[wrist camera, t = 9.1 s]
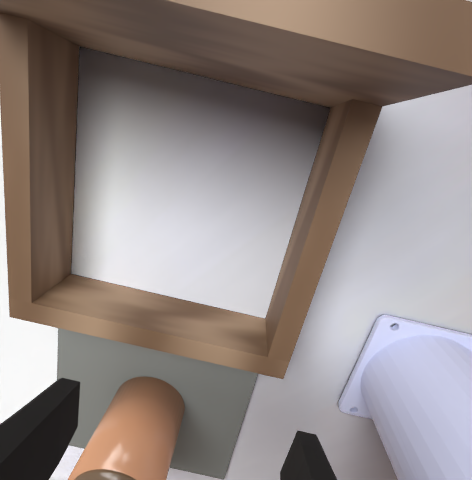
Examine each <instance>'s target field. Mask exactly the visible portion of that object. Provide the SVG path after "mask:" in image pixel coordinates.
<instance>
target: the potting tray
mask: <svg viewBox="0 0 472 480" xmlns="http://www.w3.org/2000/svg"><path fill="white" fill-rule="evenodd" d="M79 46H80V47H84V48H89V49H93V50H97V51H101V52H105V53H109V54H113V55H117V56H121V57H125V58H129V59H133V60H138V61H142V62H146V63H150V64H154V65H158V66H162V67H166V68H170V69H174V70H178V71H183V72H187V73H191V74H195V75H199V76H203V77H207V78H211V79H215V80H219V81H223V82H227V83H232V84H236V85H240V86H244V87H248V88H252V89H256V90H260V91H264V92H268V93H272V94H276V95H281V96H285V97H289V98H293V99H297V100H301V101H305V102H309V103H313V104H317V105H321V106H325V107H330V111H329V114H328V118H327V121H326V124H325V127H324V131H323V134H322V137H321V140H320V144H319V147H318V150H317V153H316V157H315V160H314V163H313V166H312V170H311V173H310V176H309V179H308V182H307V186H306V189H305V192H304V195H303V199H302V202H301V205H300V208H299V212H298V215H297V218H296V221H295V225H294V228H293V231H292V234H291V238H290V241H289V244H288V247H287V250H286V254H285V257H284V260H283V263H282V267H281V270H280V273H279V276H278V280H277V283H276V286H275V289H274V293H273V296H272V299H271V302H270V306H269V309H268V312H267V315H266V318H265V319H263V318H259V317H255V316H250V315H246V314H242V313H237V312H233V311H229V310H225V309H220V308H216V307H212V306H207V305H203V304H199V303H194V302H190V301H186V300H181V299H177V298H173V297H168V296H164V295H160V294H155V293H151V292H147V291H142V290H138V289H134V288H129V287H125V286H121V285H116V284H112V283H108V282H103V281H99V280H95V279H90V278H86V277H82V276H77V275H73V274H71V255H72V229H73V202H74V176H75V150H76V123H77V97H78V70H79ZM468 85H472V2H470V1H466V0H0V105H1V127H2V150H3V173H4V196H5V219H6V242H7V264H8V287H9V310H10V317H13V318H17V319H21V320H26V321H30V322H35V323H39V324H43V325H48V326H52V327H57V328H61V329H65V330H70V331H74V332H79V333H83V334H87V335H92V336H96V337H100V338H105V339H109V340H114V341H118V342H122V343H127V344H131V345H136V346H140V347H144V348H149V349H153V350H158V351H162V352H166V353H171V354H175V355H179V356H184V357H188V358H193V359H197V360H201V361H206V362H210V363H215V364H219V365H223V366H228V367H232V368H237V369H241V370H245V371H250V372H254V373H258V374H263V375H267V376H272V377H276V378H280V379H283V378H284V375H285V373H286V370H287V367H288V364H289V362H290V359H291V356H292V353H293V351H294V348H295V345H296V342H297V340H298V337H299V334H300V331H301V329H302V326H303V323H304V320H305V318H306V315H307V312H308V309H309V307H310V304H311V301H312V298H313V296H314V293H315V290H316V287H317V285H318V282H319V279H320V276H321V274H322V271H323V268H324V265H325V263H326V260H327V257H328V254H329V252H330V249H331V246H332V243H333V241H334V238H335V235H336V232H337V230H338V227H339V224H340V221H341V219H342V216H343V213H344V210H345V208H346V205H347V202H348V199H349V197H350V194H351V191H352V188H353V186H354V183H355V180H356V177H357V175H358V172H359V169H360V166H361V164H362V161H363V158H364V155H365V153H366V150H367V147H368V144H369V142H370V139H371V136H372V133H373V131H374V128H375V125H376V122H377V120H378V117H379V114H380V111H381V109H382V106H386V105H390V104H394V103H398V102H402V101H407V100H411V99H415V98H419V97H423V96H427V95H431V94H435V93H439V92H443V91H447V90H451V89H456V88H460V87H464V86H468Z"/></svg>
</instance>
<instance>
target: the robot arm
mask: <svg viewBox="0 0 472 480" xmlns="http://www.w3.org/2000/svg"><path fill="white" fill-rule="evenodd" d="M394 323H396V325H395V326H393V327H390V326H391V325H392V324H394ZM79 397H80V382H79V381H75V380H70V379H66V378H60V379H58V380H57V381H56V382H55V383H53V384H52V385H51V386H50V387H48V388H47V389H46V390H44V391H43V392H42V393H41V394H39V395H38V396H37V397H36V398H34V399H33V400H32V401H30V402H29V403H28V404H27V405H25V406H24V407H23V408H21V409H20V410H19V411H17V412H16V413H15V414H13V415H12V416H11V417H9V418H8V419H7V420H5V421H4V422H3V423H1V424H0V480H49V478H50V477H51V475H52V473H53V472H54V470H55V469H56V467H57V465H58V464H59V462H60V460H61V458H62V456H63V455H64V453H65V451H66V449H67V447H68V445H69V443H70V441H71V439H72V437H73V435H74V433H75V431H76V429H77V427H78V415H79ZM338 406H339V409H340V411H341V412H343V413H347V414H352V415H356V416H360V417H365V418H369V419H373V422H374V424H375V426H376V429H377V431H378V434H379V436H380V438H381V441H382V443H383V445H384V448H385V450H386V453H387V455H388V457H389V460H390V462H391V465H392V467H393V469H394V472H395V474H396V477H397V479H398V480H472V335H471V334H467V333H463V332H458V331H454V330H450V329H445V328H441V327H437V326H433V325H428V324H424V323H420V322H415V321H411V320H407V319H403V318H398V317H394V316H390V315H382V316H380V317H378V319H377V320H376V322H375V324H374V327H373V329H372V331H371V333H370V335H369V337H368V340H367V342H366V344H365V346H364V348H363V350H362V353H361V355H360V357H359V359H358V361H357V363H356V365H355V368H354V370H353V372H352V374H351V376H350V378H349V381H348V383H347V385H346V387H345V389H344V391H343V394H342V396H341V398H340V400H339V402H338ZM352 407H353V408H352ZM280 480H337V478H336V476H335V474H334V472H333V470H332V468H331V466H330V464H329V461H328V459H327V457H326V455H325V453H324V450H323V448H322V446H321V444H320V442H319V440H318V437H317V436H316V435H315V434H310V433H306V432H301V431H297V433H296V436H295V438H294V440H293V443H292V445H291V448H290V450H289V452H288V455H287V457H286V460H285V462H284V464H283V467H282V469H281V472H280Z"/></svg>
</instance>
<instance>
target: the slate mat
mask: <svg viewBox="0 0 472 480" xmlns="http://www.w3.org/2000/svg"><path fill="white" fill-rule="evenodd" d="M257 376H258V373H254V372H250V371H245V370H241V369H237V368H232V367H228V366H223V365H219V364H215V363H210V362H206V361H201V360H197V359H193V358H188V357H184V356H179V355H175V354H171V353H166V352H162V351H158V350H153V349H149V348H144V347H140V346H136V345H131V344H127V343H122V342H118V341H114V340H109V339H105V338H100V337H96V336H92V335H87V334H83V333H79V332H74V331H70V330H65V329H61V328H58V363H57V380H58V379H60V378H66V379H70V380H75V381H79V382H80V397H79V415H78V427H77V429H76V431H75V433H74V435H73V437H72V439H71V441H70V443H69V445H70V446H75V447H79V448H84V449H85V448H86V446H87V444H88V442H89V441H90V439H91V437H92V435H93V433H94V432H95V430H96V428H97V426H98V424H99V423H100V421H101V419H102V417H103V415H104V414H105V412H106V410H107V408H108V406H109V405H110V403H111V401H112V399H113V398H114V396H115V394H116V392H117V390H118V389H119V387H120V386H121V385H122V384H123V383H124V382H126V381H127V380H129V379H132V378H136V377H153V378H157V379H160V380H163V381H165V382H167V383H168V384H170V385H171V386H173V387H174V388H175V389H176V390H177V391H178V392H179V394H180V395H181V397H182V399H183V401H184V405H185V411H184V415H183V419H182V423H181V426H180V430H179V434H178V437H177V441H176V445H175V449H174V452H173V456H172V460H171V463H170V468H174V469H179V470H183V471H188V472H192V473H197V474H201V475H206V476H210V477H215V478H220V479H224V478H225V475H226V472H227V468H228V465H229V462H230V459H231V456H232V453H233V450H234V447H235V444H236V441H237V438H238V434H239V431H240V428H241V425H242V422H243V419H244V416H245V413H246V410H247V407H248V404H249V400H250V397H251V394H252V391H253V388H254V385H255V382H256V379H257Z"/></svg>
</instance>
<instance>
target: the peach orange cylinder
mask: <svg viewBox="0 0 472 480" xmlns="http://www.w3.org/2000/svg"><path fill="white" fill-rule="evenodd" d="M184 411H185V405H184V401H183V399H182V397H181V395H180V394H179V392H178V391H177V390H176V389H175V388H174V387H173V386H171V385H170V384H168V383H167V382H165V381H163V380H160V379H157V378H153V377H136V378H132V379H129V380H127V381H126V382H124V383H123V384H122V385H121V386H120V387H119V389H118V390H117V392H116V394H115V396H114V398H113V399H112V401H111V403H110V405H109V406H108V408H107V410H106V412H105V414H104V415H103V417H102V419H101V421H100V423H99V424H98V426H97V428H96V430H95V432H94V433H93V435H92V437H91V439H90V441H89V442H88V444H87V446H86V448H85V449H84V451H83V453H82V455H81V457H80V458H79V460H78V462H77V464H76V466H75V467H74V469H73V471H72V473H71V475H70V476H69V478H68V480H166V478H167V474H168V471H169V467H170V463H171V460H172V456H173V452H174V449H175V445H176V441H177V437H178V434H179V430H180V426H181V423H182V419H183V415H184Z"/></svg>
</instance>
